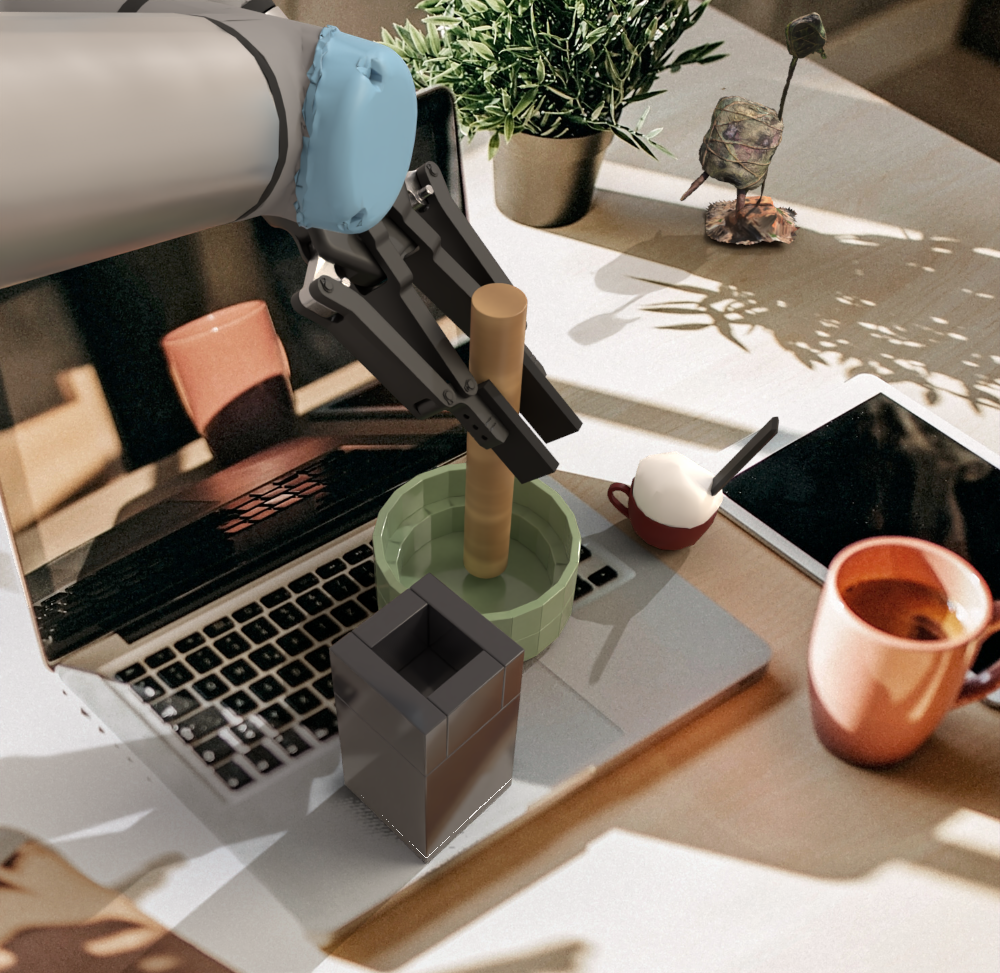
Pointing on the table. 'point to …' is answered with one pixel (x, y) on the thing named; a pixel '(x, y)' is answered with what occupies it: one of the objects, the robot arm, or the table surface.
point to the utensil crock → (427, 713)
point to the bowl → (440, 544)
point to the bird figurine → (752, 153)
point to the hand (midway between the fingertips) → (552, 453)
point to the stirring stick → (486, 475)
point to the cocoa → (680, 494)
